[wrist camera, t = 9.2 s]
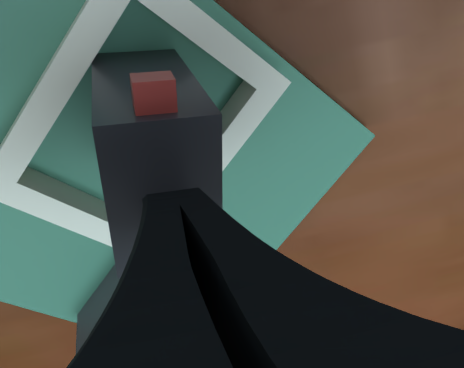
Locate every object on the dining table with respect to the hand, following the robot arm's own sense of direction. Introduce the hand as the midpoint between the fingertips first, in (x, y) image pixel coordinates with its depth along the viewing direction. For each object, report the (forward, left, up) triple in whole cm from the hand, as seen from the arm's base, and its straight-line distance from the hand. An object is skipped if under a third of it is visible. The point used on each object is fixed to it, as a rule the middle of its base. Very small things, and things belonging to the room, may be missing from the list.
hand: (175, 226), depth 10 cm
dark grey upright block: (0, 0, -8) cm, 8 cm away
